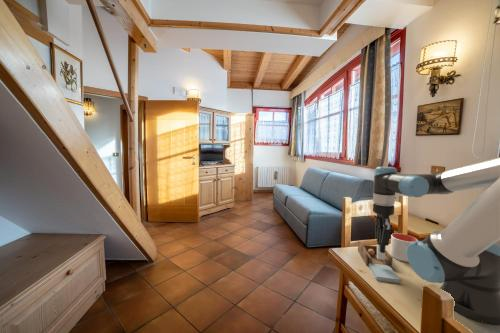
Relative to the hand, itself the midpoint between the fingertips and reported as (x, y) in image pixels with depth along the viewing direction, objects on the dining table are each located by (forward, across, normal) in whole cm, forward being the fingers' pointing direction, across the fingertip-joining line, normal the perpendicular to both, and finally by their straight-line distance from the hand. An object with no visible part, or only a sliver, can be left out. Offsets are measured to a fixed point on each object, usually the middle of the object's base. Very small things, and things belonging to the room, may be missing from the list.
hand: (380, 258), depth 89 cm
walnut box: (+5, +8, 0) cm, 10 cm away
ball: (+5, +12, 0) cm, 13 cm away
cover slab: (+5, -4, 0) cm, 6 cm away
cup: (+5, +14, -14) cm, 20 cm away
